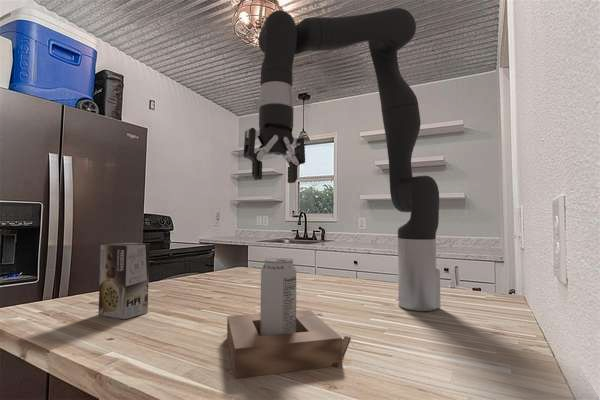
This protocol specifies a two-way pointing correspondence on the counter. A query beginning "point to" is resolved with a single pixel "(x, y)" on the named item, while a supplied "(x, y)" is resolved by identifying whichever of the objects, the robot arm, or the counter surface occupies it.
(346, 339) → the brown wooden stick
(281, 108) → the robot arm
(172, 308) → the counter surface
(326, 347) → the socket block
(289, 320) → the energy drink can
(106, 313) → the coffee box
